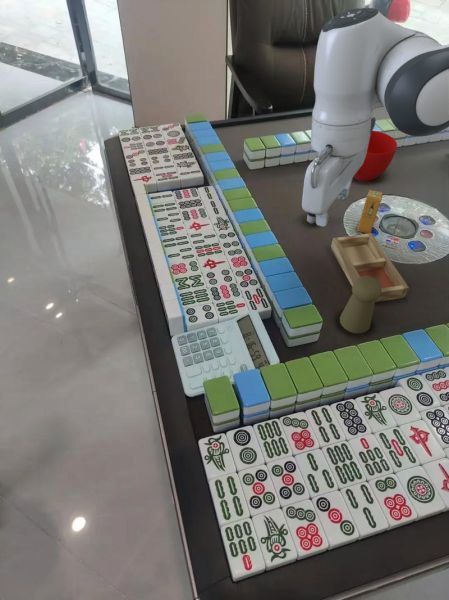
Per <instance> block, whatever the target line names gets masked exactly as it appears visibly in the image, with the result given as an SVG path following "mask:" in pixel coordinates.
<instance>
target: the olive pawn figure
mask: <svg viewBox="0 0 449 600" xmlns="http://www.w3.org/2000/svg"><path fill="white" fill-rule="evenodd" d="M381 292H382V287H381V284H380V283H379V281H378V280H377V279H375V278H373V277H370V276H362V277H360V278H358V279H356V281H355V282H354V283H353V286H352V285H351V293H352V294H351V295H350V298H349V299H348V301H347V304H346V305H345V307H344V309H343V310H342V312H341V313H340V316H339V323H340V325H341V327H343V329H344V330H346V331H348V332H350V333H352V334H363V333H366V332H368V331H369V330H370V329H371V324H372V319H373V314H374V310H375V303H376V302H375V301H376V300H377V299H378V298H379V297H380V295H381Z"/></svg>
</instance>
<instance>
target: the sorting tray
mask: <svg viewBox="0 0 449 600" xmlns="http://www.w3.org/2000/svg"><path fill="white" fill-rule="evenodd" d="M330 250H331V251H332V254H333V255H334V257H335V259H336V260H337V262H338V264H339V266H340V267H341V269H342V271H343V273H344V274H345V277H346V278H347V280H348V282H349V284H350V285H351V287H352V286H353V283H354V282H355V281H356V279H358V278H360V277H362V276H370V277H373V278H375V279H377V280H378V281H379V283H380V284H381V287H382V292H381V295H380V297H379V298H378V299H377V300H376V301H375V303H379V302H386V301H391V300H399V299H404V298H406V296H407V293H408V291H409V285H408V284H407V282H406V281H405V279H404V278H403V277H402V275H401V274H400V272H399V270H398V269H397V268H396V267H395V265H394V263H393V262H392V261H391V259H390V258H389V256H388V255H387V253H386V252H385V250H384V249H383V247H382V246H381V245H380V243H379V242H378V240H377V239H376V237H375V235H374V234H373V232H371V233H368V234H367V233H361V234H354V235H347V236H338V237H333V238H332V240H331V245H330Z"/></svg>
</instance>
